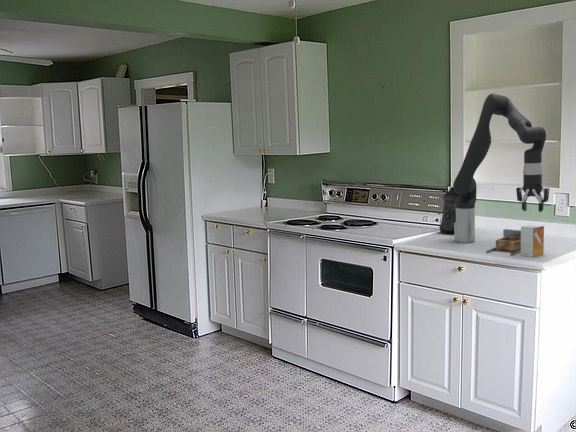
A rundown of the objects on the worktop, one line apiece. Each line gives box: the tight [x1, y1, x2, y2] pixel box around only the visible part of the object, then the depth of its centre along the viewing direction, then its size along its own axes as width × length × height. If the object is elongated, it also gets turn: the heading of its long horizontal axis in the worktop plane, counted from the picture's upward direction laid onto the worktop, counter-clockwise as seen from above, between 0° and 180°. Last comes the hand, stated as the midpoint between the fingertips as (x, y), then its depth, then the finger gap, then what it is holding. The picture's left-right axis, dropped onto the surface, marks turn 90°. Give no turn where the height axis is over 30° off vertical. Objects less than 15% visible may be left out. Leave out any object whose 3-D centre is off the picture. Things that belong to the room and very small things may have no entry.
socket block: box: [495, 236, 521, 253], centre depth 274 cm, size 10×12×5 cm
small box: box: [520, 224, 545, 258], centre depth 260 cm, size 8×6×13 cm
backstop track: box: [485, 228, 521, 257], centre depth 272 cm, size 14×21×8 cm, turn 135°
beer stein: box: [438, 187, 459, 236], centre depth 323 cm, size 16×19×25 cm
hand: (532, 211), depth 258 cm, fingers open, 6 cm apart
